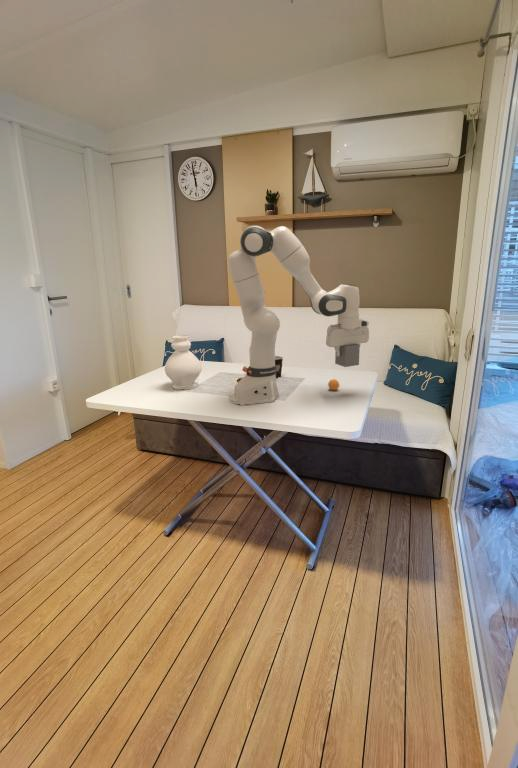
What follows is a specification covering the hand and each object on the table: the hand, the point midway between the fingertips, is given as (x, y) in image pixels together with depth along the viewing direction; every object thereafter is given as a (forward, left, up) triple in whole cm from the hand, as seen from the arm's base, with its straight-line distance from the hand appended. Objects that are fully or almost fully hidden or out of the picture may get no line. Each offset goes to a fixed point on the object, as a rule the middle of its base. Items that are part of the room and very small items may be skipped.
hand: (347, 354), depth 177 cm
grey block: (0, 0, -4) cm, 4 cm away
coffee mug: (-15, +44, -18) cm, 50 cm away
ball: (-1, +8, -15) cm, 18 cm away
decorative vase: (-60, +51, -18) cm, 81 cm away
